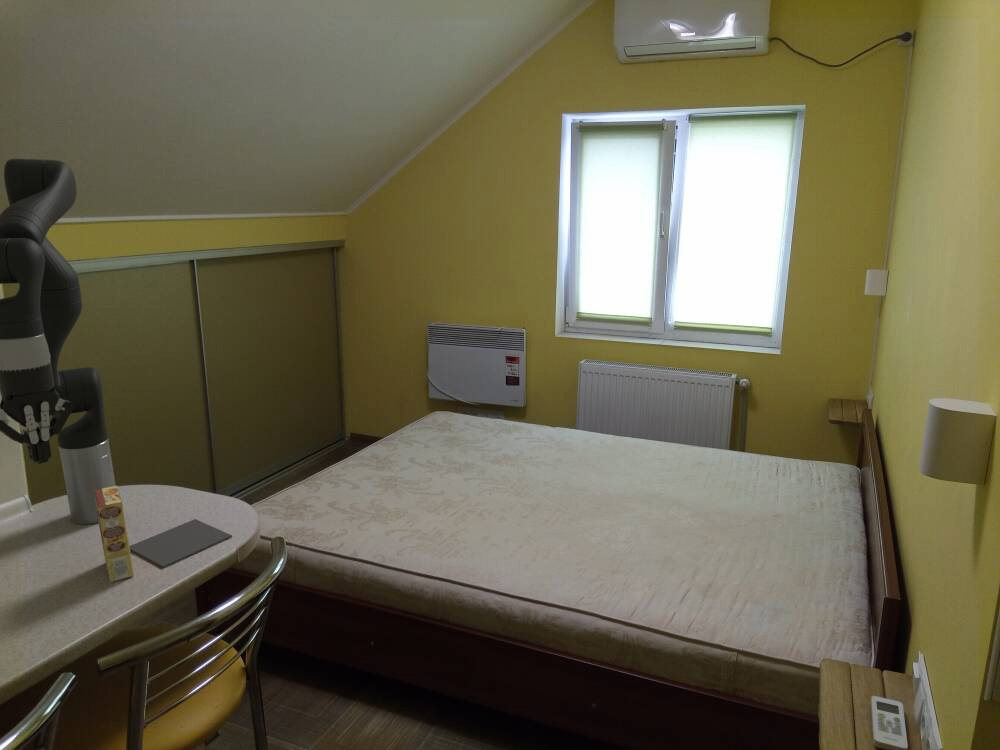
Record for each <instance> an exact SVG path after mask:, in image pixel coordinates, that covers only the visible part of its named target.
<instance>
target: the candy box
mask: <svg viewBox="0 0 1000 750" xmlns="http://www.w3.org/2000/svg"><path fill="white" fill-rule="evenodd" d="M94 495H95V502H96V509H97V516H98V522H97V523H98V527H99V532H100V538H101V543H102V549H103V555H104V560H105V563H106V564H105V565H106V568H107V569H106V570H107V574H108V577H109V581H110V583H113V582H116V581H121V580H124V579H128V578H132V577H134V575H135V574H134V569H133V563H132V554H131V551H130V547H129V546H130V542H129V536H128V530H127V524H126V523H127V522H126V518H125V511H124V506H123V502H122V501H123V500H122V497H121V495H120V490H119V487H118V485H115V486H112V487H107V488H102V489H98V490H94Z"/></svg>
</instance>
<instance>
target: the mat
mask: <svg viewBox="0 0 1000 750" xmlns="http://www.w3.org/2000/svg"><path fill="white" fill-rule="evenodd" d="M231 538H233V535H232V534H230V533H227V532H225V531H224V530H221V529H219V528H216V527H214V526H211V525H210V524H207V523H205V522H203V521H201V520H198V519H196V518H194V519H192V520H191V519H190V521H186V522H184V523H181V524H180V525H178V526H174V527H172V528H170V529H167V530H165V531H163V532H161V533H157V534H155V535H153V536H151V537H148V538H146V539H143V540H141V541H138V542H136V543H134V544H131V545H129V547H130V552H132V553H134V554H136V555H137V556H139V557H141V558H142V559H143V558H144V559H146V560H147V561H149V562H151V563H153V564H154V565H157V566H159V567H160V568H162V569H165V568H167V567H169V566H171V565H174V564H176V563H178V562H181V561H182V560H185V559H188V558H189V557H191V556H194V555H196V554H198V553H201V552H202V551H205V550H208V549H209V548H211V547H213V546H216V545H218V544H220V543H223V542H224V541H226V540H228V539H231Z"/></svg>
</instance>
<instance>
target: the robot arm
mask: <svg viewBox="0 0 1000 750" xmlns="http://www.w3.org/2000/svg"><path fill="white" fill-rule="evenodd" d="M74 174H75V173H74V172H73V169H72V168H71V167H70V165H69V164H68V163H67V162H64V161H61V160H56V159H55V160H54V159H36V158H35V159H32V158H10V159H8V160H7V161H6V162H5V165H4V168H3V177H4V178H3V179H4V180H3V181H4V187H5V192H6V196H7V199H8V203H9V206H8V207H6V208H5V209H4V210H2V212H1V213H0V285H2V284H3V285H4V284H8V285H9V284H19V287H18V292H16V294H15V295H11V296H8V297H4V298H0V397H1V400H0V433H1V434H3V435H4V436H6V437H8V438H9V439H11V441H14V442H17V443H19V444H26V447H27V451H28V454H27V455H28V458H29V459H30V461H32V462H34V463H35V464H37V465H41V464H45V463H48V462H49V461H50V460H49V459H50V458H52V451H51V446H50V439H51V437H53V436H55V435H57V442H58V443H57V445H58V450H59V455H60V460H61V466H62V472H63V477H64V483H65V489H66V495H67V500H68V501H67V502H68V507H69V514H70V520H71V521H72V522H73V523H75V524H79V525H89V524H91V525H92V524H96V523H99V522H98V516H97V509H96V502H95V495H94V490H98V489H102V488H107V487H112V486H116V480H115V474H114V467H113V461H112V453H111V448H110V442H109V441H110V440H109V436H108V435H109V434H108V429H107V421H106V416H105V408H104V407H105V406H104V395H103V383H102V380H101V376H100V373H99V372H98V371H97V369H95V367H92V366H88V367H79V368H71V369H63V370H58V364H59V359H60V355H61V352H62V349H63V346H64V344H65V342H66V341H67V339H68V337H69V335H70V333H71V332H72V330H73V329H74V327H75V325H76V323H77V321H78V320H79V317H80V315H81V313H82V310H83V301H82V294H81V287H80V286H81V285H80V279H79V276H78V274H77V271H76V270H75V269H74V267H73V266H72V265H71V264H70V263H69V262H68V260H67V259H66V257H65V256H63V255H62V254H61V253H60V251H59V250H58V249H57V248H56V247H55V246H54V245H53V244H52V242H51V241H50V239H48V237H47V234H48V232H49V230H50V229H51V228H52V226H54V225H55V224H56V223H57V222H58V221H59V220H60V219H61V218H62V217H63V216H64V215H66V213H67V212H68V211H69V210H71V208H72V207H73V206H74V204H75V201H76V199H77V182H76V178H75V175H74ZM82 412H84V415H82V417H81V418H79V419H78V420H76V421H75V422H73V423H71V424H69V425H68V426H66V427H64V425H65V424H66V422H67V420H68V419H69V417H70V415H72V414H78V413H82ZM7 416H8V417H9V418H10V419H12V420H13V421H14V422H16V423H17V424H18V427H19V429H20V430H21V432H22V433H20V432H19V431H17V430H16V429H15V428H13V427H11V426H10V425H8V424H9V422H10V421H9V419H8V418H7ZM50 417H51V418H50Z"/></svg>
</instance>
